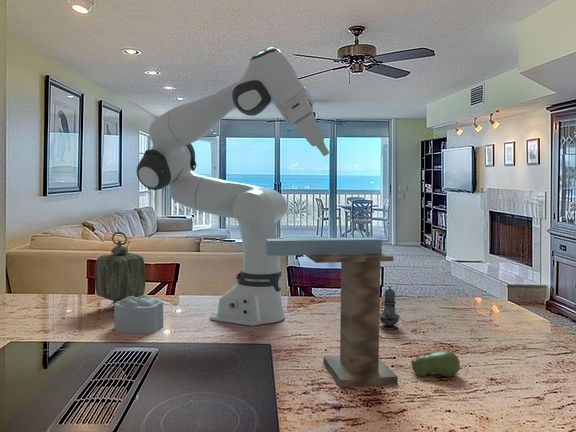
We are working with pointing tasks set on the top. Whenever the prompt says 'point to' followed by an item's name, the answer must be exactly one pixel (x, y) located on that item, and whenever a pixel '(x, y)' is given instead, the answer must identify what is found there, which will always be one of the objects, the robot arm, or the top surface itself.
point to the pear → (436, 364)
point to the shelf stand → (359, 321)
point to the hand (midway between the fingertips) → (324, 149)
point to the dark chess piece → (389, 311)
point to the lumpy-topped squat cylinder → (138, 315)
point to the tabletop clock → (119, 274)
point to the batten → (323, 246)
